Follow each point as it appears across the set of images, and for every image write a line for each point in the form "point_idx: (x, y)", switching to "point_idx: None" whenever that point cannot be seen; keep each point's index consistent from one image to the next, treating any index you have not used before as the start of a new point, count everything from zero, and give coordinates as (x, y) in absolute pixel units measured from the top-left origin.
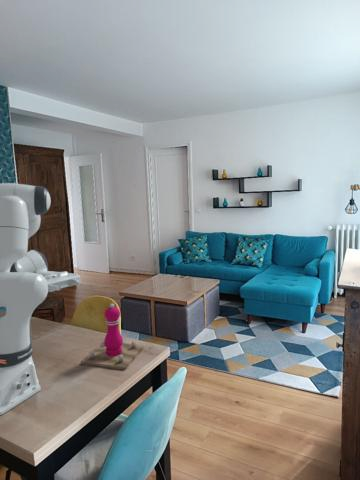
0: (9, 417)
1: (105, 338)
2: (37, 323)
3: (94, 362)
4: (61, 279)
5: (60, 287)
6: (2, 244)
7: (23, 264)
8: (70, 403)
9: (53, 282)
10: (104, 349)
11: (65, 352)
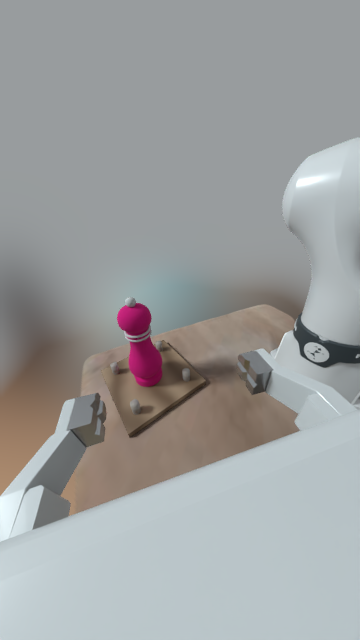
0: None
1: (158, 356)
2: None
3: (189, 365)
4: (197, 525)
5: (238, 359)
6: None
7: None
8: (236, 325)
9: (312, 426)
10: (153, 394)
11: (221, 455)
